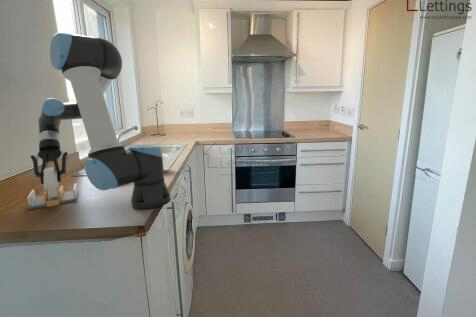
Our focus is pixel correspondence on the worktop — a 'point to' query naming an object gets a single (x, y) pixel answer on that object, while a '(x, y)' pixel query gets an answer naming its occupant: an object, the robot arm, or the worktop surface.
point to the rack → (52, 198)
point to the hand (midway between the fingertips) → (51, 189)
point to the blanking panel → (50, 181)
